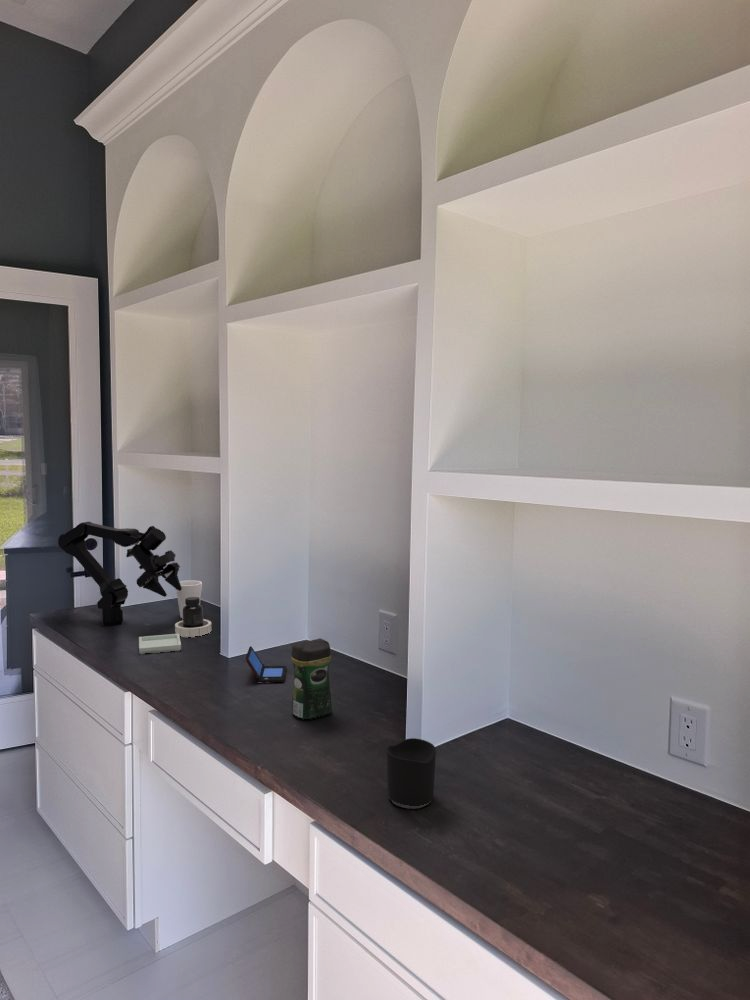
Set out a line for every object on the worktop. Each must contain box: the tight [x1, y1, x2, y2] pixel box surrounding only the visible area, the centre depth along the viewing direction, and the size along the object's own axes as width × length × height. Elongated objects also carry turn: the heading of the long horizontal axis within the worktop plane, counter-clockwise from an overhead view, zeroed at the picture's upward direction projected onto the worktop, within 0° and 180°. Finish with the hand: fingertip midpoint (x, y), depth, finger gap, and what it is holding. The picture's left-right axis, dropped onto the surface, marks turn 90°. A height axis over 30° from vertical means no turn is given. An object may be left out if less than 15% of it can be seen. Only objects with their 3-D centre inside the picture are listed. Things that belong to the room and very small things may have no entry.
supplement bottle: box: [182, 597, 204, 628], centre depth 243 cm, size 7×7×12 cm
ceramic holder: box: [174, 618, 212, 638], centre depth 244 cm, size 12×12×3 cm
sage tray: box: [138, 633, 182, 655], centre depth 228 cm, size 13×13×2 cm
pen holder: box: [386, 737, 437, 806], centre depth 135 cm, size 9×9×10 cm
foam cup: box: [175, 579, 203, 620], centre depth 262 cm, size 10×9×13 cm
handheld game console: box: [245, 645, 287, 683], centre depth 202 cm, size 12×11×7 cm
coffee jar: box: [290, 637, 333, 720], centre depth 175 cm, size 10×8×19 cm
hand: (173, 592), depth 246 cm, fingers open, 9 cm apart
